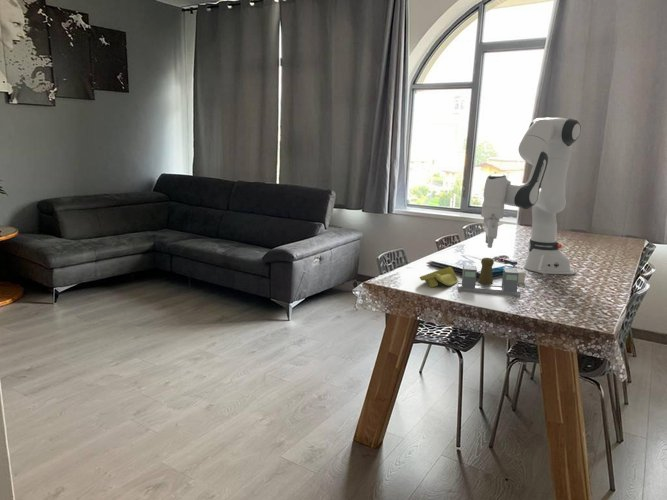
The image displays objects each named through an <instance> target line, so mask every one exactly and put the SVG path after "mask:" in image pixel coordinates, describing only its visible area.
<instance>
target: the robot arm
mask: <svg viewBox="0 0 667 500" xmlns="http://www.w3.org/2000/svg"><path fill="white" fill-rule="evenodd" d="M581 128H582V127H581V124H580V122H579V120H577V119H574V118H567V117H566V118H564V117H559V116H558V117H537V118H535V119H534V120H532V121H531V122H530V124H529V126H528V130H526V132H525V134H524V136H523V137H522V139H521V141H520V143H519V146H518V154H519V156H520V157H521V158H522V160H524V162H526V163H528V164H529V165H531V166H532V168H531V170H530V173H529V175H528V178H527V181H526V182H525V183H517V182H511V181H510V180H508V179H507V175H505V174H502V173H494V174H490V175H488V176H487V178H486V180H485V185H484V188H483V202H482V206H481V215H480V217H482V218H483V231H484V233H485V241H484V242H485V243H486V244H487V248H489V249H490V248H493V244H494V240H496V239H497V237H498V229H499V223H500V220H501V219H503V218H504V211H505V205H506V206H511V207H517V208H521V209H523V210H528V209H530V208H531V217H532V221H531V223H532V224H531V233H530V234H531V235H530V239H529V242H528V249H527V250H528V253H527V258H526V261H525V263H524V266H523V268H524V269H525V270H528V271H531V272H535V273H539V274H545V275H546V274H547V275H575V273H576V271H575V269H574V268H573V267H571V262H570V258H569V257H568V256H567V255H565V254H564V253H563V252H562V251H561V250H560V249H562V248H563V245H562V244H561V243H559V242H557V241H556V240H557V231H558V223H557V214H558V213H561V212H563V210H564V209H565V208H566V205H567V199H566V189H567V186H566V185H567V177H568V171H569V166H570V161H571V157H572V148H573V144H574V143H576V141H577V140H578V139H579V137H580V135H581V131H582V130H581Z"/></svg>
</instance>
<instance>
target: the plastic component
mask: <svg viewBox="0 0 667 500" xmlns="http://www.w3.org/2000/svg"><path fill="white" fill-rule="evenodd" d="M419 280H420V281H424V282H426V283H428V285H429V288H433V287H437V286H438V285H439V284H438V282H440V283H441V284H443V285H444V286H450V287H451V286H452V285H455V284H456V283H457V284H458V282H459V280H458V277H457V275H456V273H455V271H454V269H453V267H452V266H448V267H445V268H441V269H438V270H435V271H433V272H430V273H427V274H424V275H421V276H419Z"/></svg>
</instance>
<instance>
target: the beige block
mask: <svg viewBox="0 0 667 500" xmlns="http://www.w3.org/2000/svg"><path fill="white" fill-rule="evenodd" d="M516 269H517V268H516ZM517 271H518V272H519V276H518V284H525V280H526V272H525V271H524V270H523V269H517Z"/></svg>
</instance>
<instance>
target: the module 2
mask: <svg viewBox="0 0 667 500" xmlns="http://www.w3.org/2000/svg"><path fill="white" fill-rule="evenodd" d="M502 269H503V270H502V278H501V279H502V280H501V286H502V289H503V290H504V292H516V293H517V287H518V284H519V283H518V276H519V272H518V271H517V268H512V267H502Z"/></svg>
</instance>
